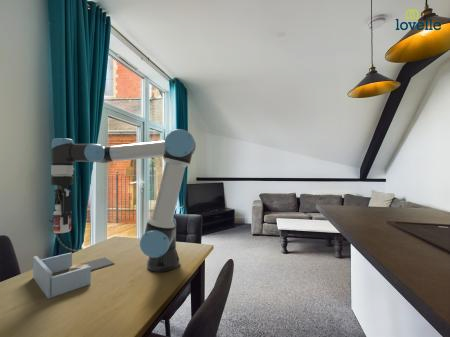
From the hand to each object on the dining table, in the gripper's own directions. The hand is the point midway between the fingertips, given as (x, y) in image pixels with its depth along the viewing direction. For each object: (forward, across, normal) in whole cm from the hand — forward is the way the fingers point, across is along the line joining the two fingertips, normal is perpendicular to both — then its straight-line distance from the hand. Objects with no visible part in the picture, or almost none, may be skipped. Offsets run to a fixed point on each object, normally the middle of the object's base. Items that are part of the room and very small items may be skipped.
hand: (62, 230), depth 95 cm
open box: (+21, 0, 0) cm, 21 cm away
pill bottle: (+1, 0, 0) cm, 1 cm away
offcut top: (+19, 0, -6) cm, 20 cm away
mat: (+21, +6, -16) cm, 27 cm away
